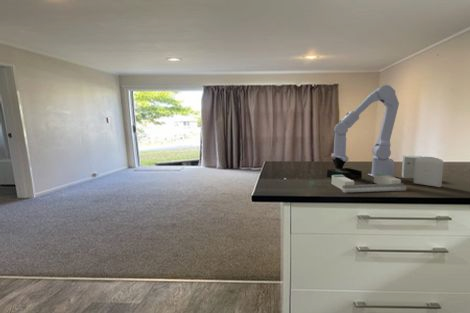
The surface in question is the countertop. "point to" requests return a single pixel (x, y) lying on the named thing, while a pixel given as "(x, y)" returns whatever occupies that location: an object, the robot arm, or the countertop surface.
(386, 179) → the block
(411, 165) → the small box
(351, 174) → the battery charger
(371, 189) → the rail
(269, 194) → the countertop surface
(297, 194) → the countertop surface
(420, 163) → the photo printer
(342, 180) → the block
